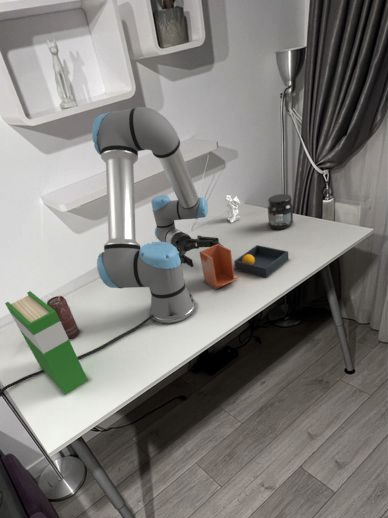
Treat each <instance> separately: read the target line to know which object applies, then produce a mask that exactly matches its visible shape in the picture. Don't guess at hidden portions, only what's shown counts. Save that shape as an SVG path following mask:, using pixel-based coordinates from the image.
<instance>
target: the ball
mask: <svg viewBox="0 0 388 518" xmlns="http://www.w3.org/2000/svg"><path fill="white" fill-rule="evenodd" d="M254 261H255V259H254V257H253V256H252V255H250V254H247V255H245V256H244V257H243V259H242V262H244V263H248V264H252V265H253V264H254Z"/></svg>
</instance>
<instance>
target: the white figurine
mask: <svg viewBox="0 0 388 518" xmlns="http://www.w3.org/2000/svg"><path fill="white" fill-rule="evenodd" d="M224 200H225V201H226V207H227V209H226V214H227V215H228V217H227V220H228V221H229V223H234V222H237V221H239V219H240V218H241V216H240V215H238V214H239V210H238V208H239V206H240V205H241V202H240V199H239V198H238V196H237V195H235V196H234V197H233V198H232V195H227V194H226V195H225V198H224Z"/></svg>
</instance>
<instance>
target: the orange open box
mask: <svg viewBox="0 0 388 518" xmlns="http://www.w3.org/2000/svg"><path fill="white" fill-rule="evenodd" d="M222 245H223V244H221V245H219V244H217V245H214V246H212V247H207V248H205V249H202V250H200V251H199V257H200V262H201V267H202V273H203V279H204V282H205V284H207V285H209V286H211V287H212V288H214V289H216V290H218V289H220V288H222V287H224V286H226V285H228V284H230V283H232V282H235V281H236V280H238V279H240V278H239V276H237V277H235V271H234V264H233V263H234V262H233V257H232V250H231V249H230V248H227V247H225V246H224V245H223V246H222Z"/></svg>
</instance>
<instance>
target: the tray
mask: <svg viewBox="0 0 388 518" xmlns="http://www.w3.org/2000/svg"><path fill="white" fill-rule="evenodd" d="M247 254H250V255H252V256H253V257H254V259H255V261H254V264H253V265H252V264H248V263H244V262H242V259H243V257H244V256H245V255H247ZM288 261H289V250H288V251H287V250H284V249H278V248H273V247H268V246H264V245H260V244H259V245H255V246H253V247H252V248H250V249H249V250H248V251H246V252H245V253H243V254H242V255H241V256H239V257H238V258H236V259H235V260H234V261H233V263H234V270H235V271H239V272H244V273H246V274H251V275H253V276H258V277H261V278H269V276H271V275H272V274H273V273H274V272H276V271H277V270H278V269H279V268H281V267H282V266H283V265H285V264H286V263H287V262H288Z"/></svg>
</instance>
